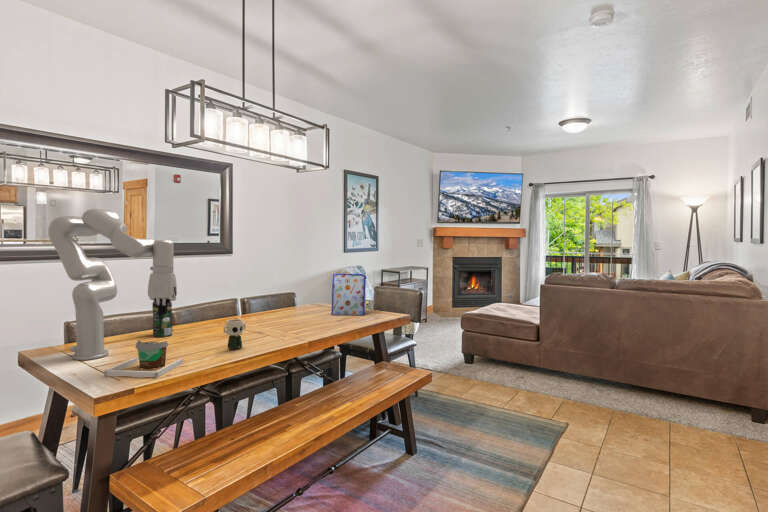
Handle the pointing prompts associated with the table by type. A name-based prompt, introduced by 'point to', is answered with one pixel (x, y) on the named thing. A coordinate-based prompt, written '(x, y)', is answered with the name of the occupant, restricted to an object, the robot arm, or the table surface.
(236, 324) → the cream and green figurine
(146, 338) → the table surface
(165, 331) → the coffee jar
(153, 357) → the food container
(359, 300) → the lunch bag
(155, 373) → the grey u-shaped frame
